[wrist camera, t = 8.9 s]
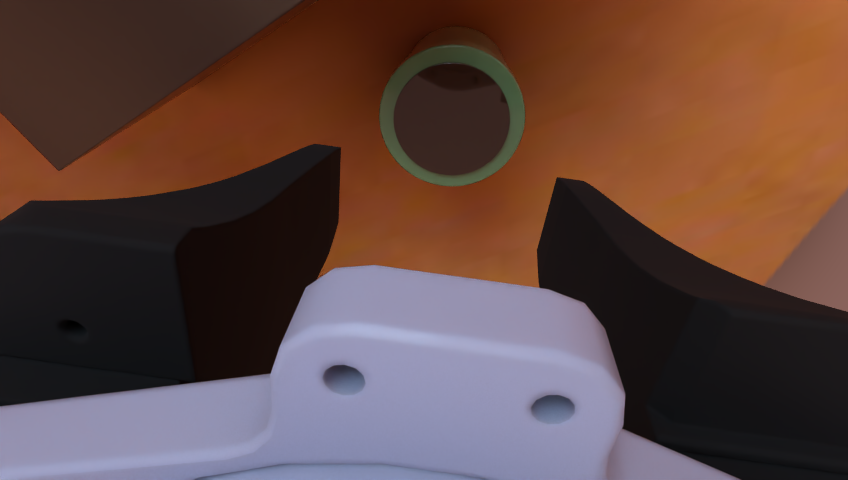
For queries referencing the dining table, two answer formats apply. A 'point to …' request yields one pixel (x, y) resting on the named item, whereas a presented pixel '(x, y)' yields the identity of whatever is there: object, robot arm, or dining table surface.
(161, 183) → the dining table surface
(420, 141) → the green pot
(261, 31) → the cabinet
